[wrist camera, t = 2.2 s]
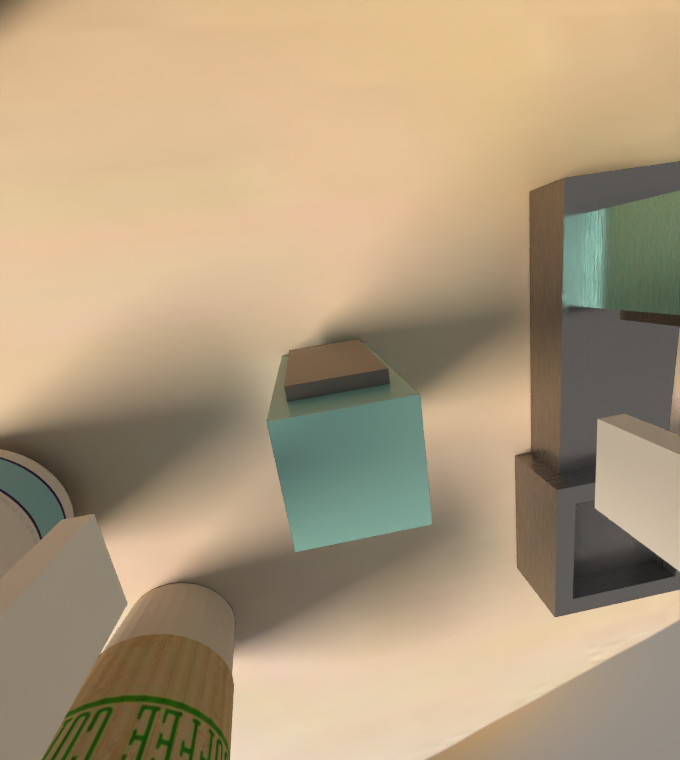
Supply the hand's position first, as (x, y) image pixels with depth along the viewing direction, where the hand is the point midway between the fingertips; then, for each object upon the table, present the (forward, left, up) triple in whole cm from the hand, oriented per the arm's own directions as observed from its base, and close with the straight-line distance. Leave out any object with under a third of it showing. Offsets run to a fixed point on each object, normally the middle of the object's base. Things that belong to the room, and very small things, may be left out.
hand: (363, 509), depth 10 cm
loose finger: (0, 0, -10) cm, 10 cm away
